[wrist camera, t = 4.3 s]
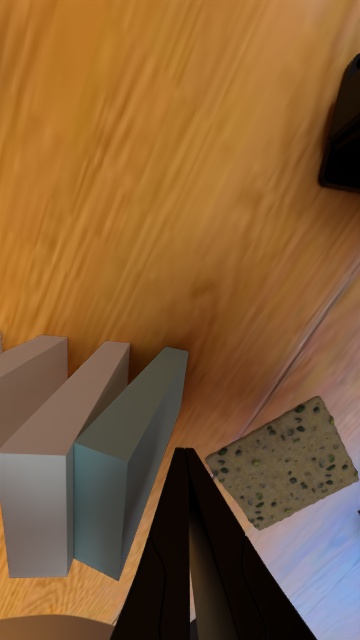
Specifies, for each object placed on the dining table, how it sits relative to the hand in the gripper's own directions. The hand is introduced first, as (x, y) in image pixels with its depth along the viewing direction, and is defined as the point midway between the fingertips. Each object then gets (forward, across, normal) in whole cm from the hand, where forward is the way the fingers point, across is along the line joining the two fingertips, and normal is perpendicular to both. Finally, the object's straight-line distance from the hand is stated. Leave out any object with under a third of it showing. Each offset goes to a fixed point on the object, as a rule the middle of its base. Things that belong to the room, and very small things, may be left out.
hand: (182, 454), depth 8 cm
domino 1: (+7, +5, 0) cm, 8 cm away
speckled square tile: (+7, -12, +9) cm, 16 cm away
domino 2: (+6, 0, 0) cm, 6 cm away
